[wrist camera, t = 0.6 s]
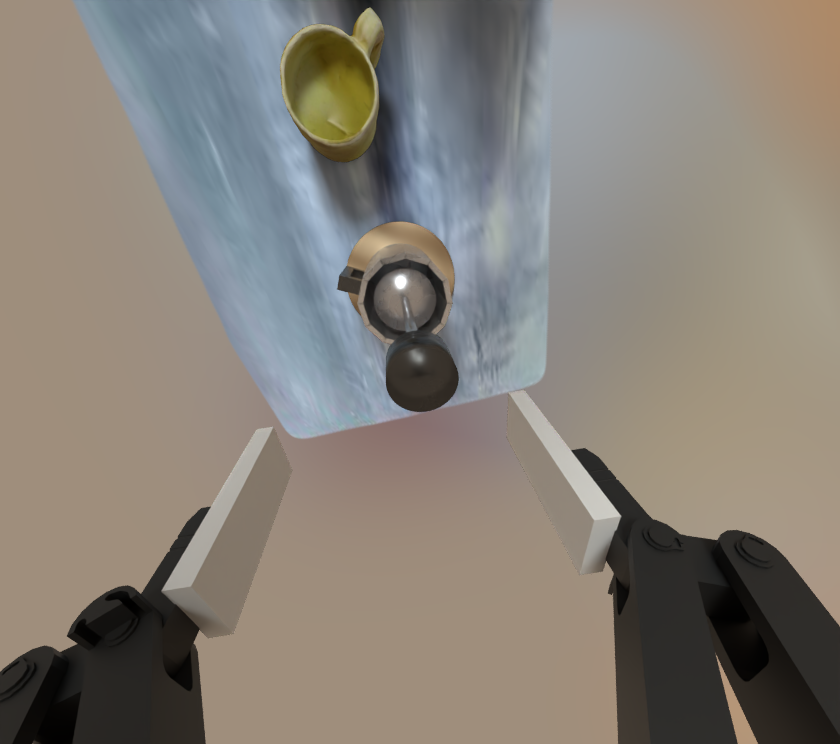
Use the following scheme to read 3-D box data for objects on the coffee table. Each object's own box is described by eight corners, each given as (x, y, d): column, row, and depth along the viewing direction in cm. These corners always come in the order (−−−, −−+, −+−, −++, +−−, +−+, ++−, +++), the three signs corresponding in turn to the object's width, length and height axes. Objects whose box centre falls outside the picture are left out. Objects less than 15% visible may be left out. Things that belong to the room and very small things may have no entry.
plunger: (381, 259, 33) (376, 310, 16) (442, 277, 35) (499, 341, 17) (368, 320, 36) (351, 419, 19) (425, 334, 38) (458, 437, 20)
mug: (343, 199, 38) (321, 149, 28) (286, 130, 37) (242, 53, 27) (417, 133, 37) (421, 59, 28) (362, 61, 36) (346, -43, 26)
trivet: (357, 205, 40) (357, 205, 39) (468, 241, 43) (469, 241, 43) (338, 318, 47) (337, 319, 46) (435, 341, 50) (435, 343, 50)
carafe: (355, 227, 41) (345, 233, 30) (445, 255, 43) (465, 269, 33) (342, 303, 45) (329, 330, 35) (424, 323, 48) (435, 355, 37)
